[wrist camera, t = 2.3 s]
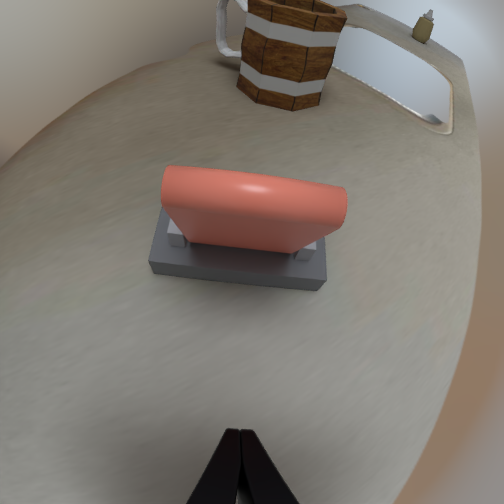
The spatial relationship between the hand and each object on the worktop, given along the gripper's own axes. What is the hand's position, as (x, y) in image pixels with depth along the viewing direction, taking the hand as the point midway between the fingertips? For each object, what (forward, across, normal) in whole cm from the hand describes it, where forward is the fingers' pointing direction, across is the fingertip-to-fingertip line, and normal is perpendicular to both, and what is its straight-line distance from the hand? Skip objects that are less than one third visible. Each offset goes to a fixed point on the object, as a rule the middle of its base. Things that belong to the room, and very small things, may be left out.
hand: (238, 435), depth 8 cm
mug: (+40, -1, -21) cm, 46 cm away
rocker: (+17, 0, -2) cm, 17 cm away
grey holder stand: (+20, 0, -1) cm, 20 cm away
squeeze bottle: (+97, -66, -78) cm, 141 cm away
